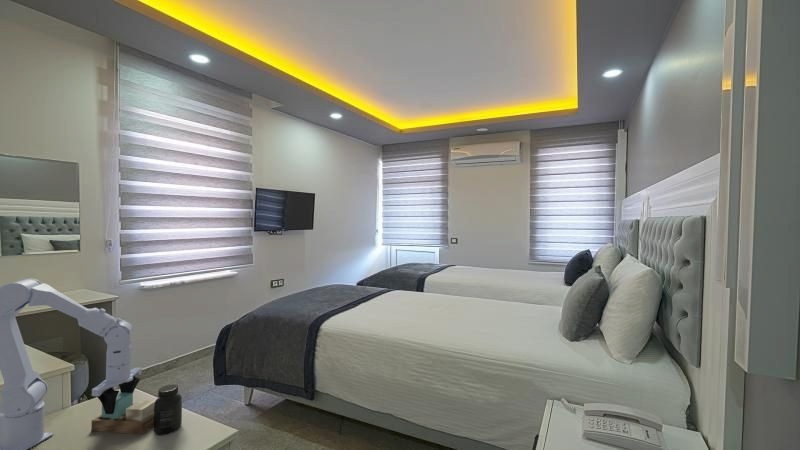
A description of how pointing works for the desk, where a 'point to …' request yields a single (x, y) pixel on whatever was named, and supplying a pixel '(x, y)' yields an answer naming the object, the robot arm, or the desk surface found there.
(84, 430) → the desk surface
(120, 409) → the teal block
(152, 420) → the walnut puzzle board
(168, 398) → the supplement bottle
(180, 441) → the desk surface
